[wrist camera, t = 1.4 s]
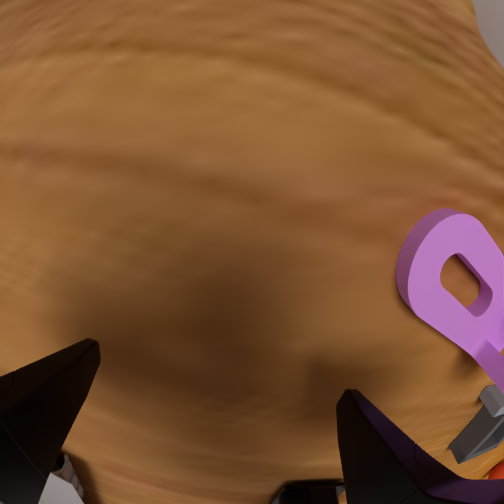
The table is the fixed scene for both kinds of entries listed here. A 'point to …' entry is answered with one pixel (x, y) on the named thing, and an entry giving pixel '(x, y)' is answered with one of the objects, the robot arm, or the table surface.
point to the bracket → (441, 301)
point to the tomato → (497, 472)
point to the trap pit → (478, 436)
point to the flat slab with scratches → (62, 486)
